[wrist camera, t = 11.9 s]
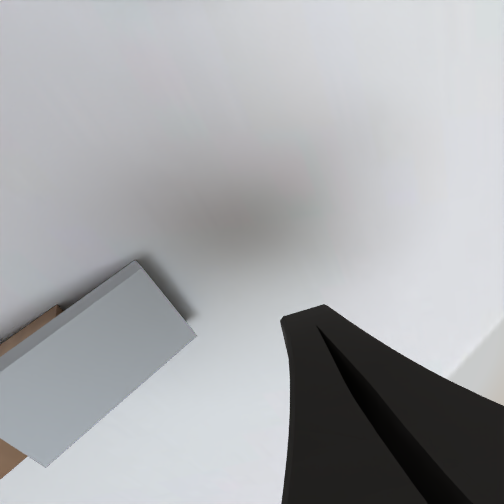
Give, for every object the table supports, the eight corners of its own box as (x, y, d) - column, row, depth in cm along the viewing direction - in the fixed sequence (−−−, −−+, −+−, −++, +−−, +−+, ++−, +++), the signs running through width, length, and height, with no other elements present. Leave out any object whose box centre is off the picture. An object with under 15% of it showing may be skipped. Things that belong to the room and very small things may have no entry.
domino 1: (115, 361, 19) (-32, 482, 17) (57, 304, 17) (-123, 432, 14) (120, 378, 18) (-43, 515, 15) (55, 316, 16) (-149, 464, 13)
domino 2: (185, 322, 19) (48, 438, 16) (135, 259, 17) (-34, 381, 14) (197, 335, 17) (45, 467, 15) (142, 267, 15) (-48, 407, 12)
